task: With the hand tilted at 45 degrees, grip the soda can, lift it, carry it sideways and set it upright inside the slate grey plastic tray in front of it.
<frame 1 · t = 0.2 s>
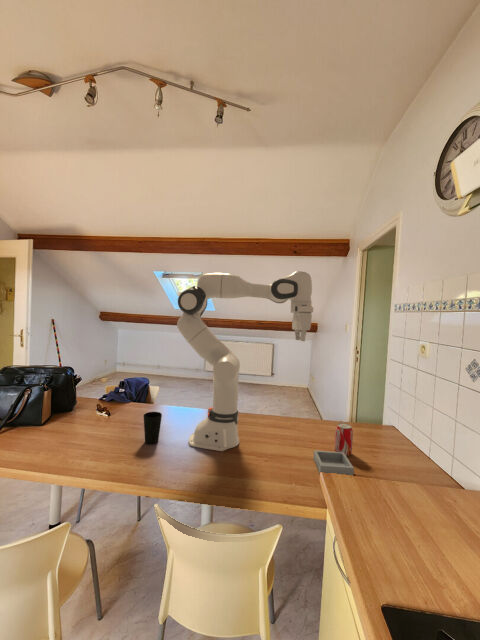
hand: (300, 340, 128), 47 cm above the table, tool pointing down, fingers open, 8 cm apart
soda can: (342, 453, 126), on the table
cup: (151, 442, 128), on the table
tray: (332, 467, 113), on the table
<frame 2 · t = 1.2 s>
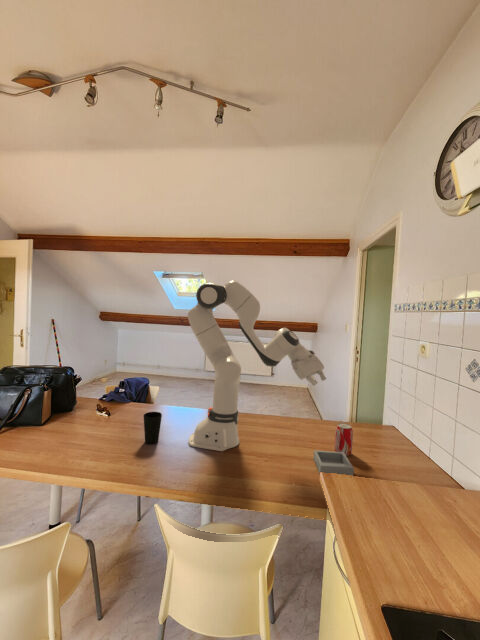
hand: (320, 382, 130), 29 cm above the table, tool tilted 45°, fingers open, 8 cm apart
nothing on the table moved.
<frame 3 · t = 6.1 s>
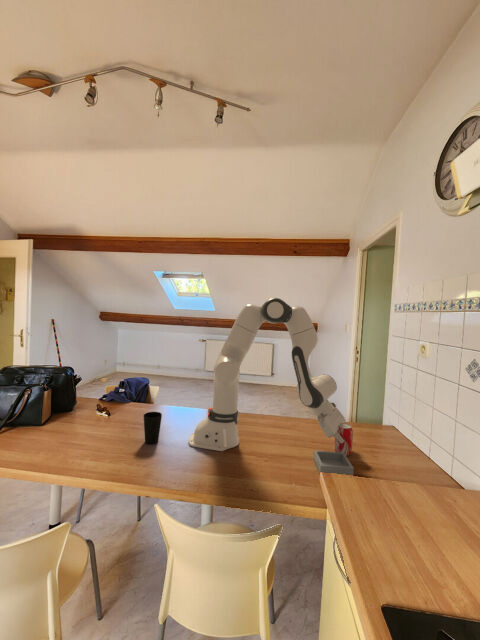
hand: (345, 438, 125), 6 cm above the table, tool tilted 45°, fingers open, 7 cm apart
soda can: (342, 453, 126), on the table, touching gripper
everything else where it was.
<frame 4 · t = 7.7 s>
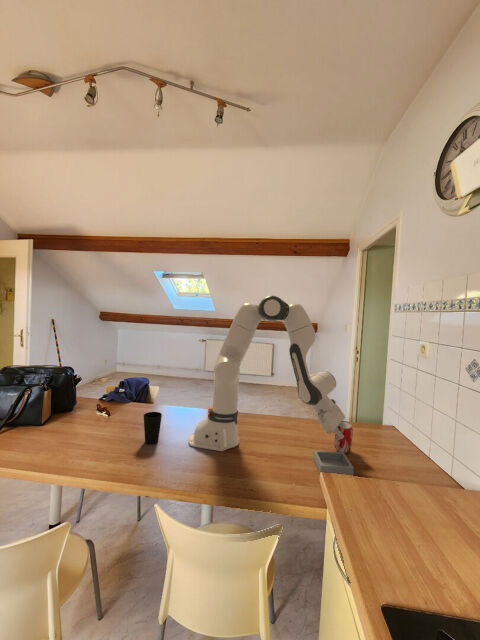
hand: (344, 435, 125), 8 cm above the table, tool tilted 45°, fingers closed on soda can, 5 cm apart
soda can: (342, 449, 128), point 1 cm above the table, touching gripper
everything else where it was.
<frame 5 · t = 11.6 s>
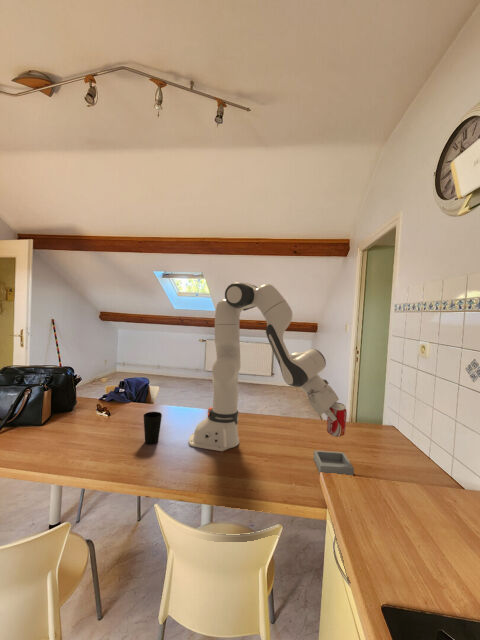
hand: (337, 417, 114), 19 cm above the table, tool tilted 45°, fingers closed on soda can, 5 cm apart
soda can: (335, 433, 117), point 12 cm above the table, touching gripper
everything else where it was.
when the fingers open (9 cm above the table, at t = 15.9 s): soda can stays where it is, resting on tray.
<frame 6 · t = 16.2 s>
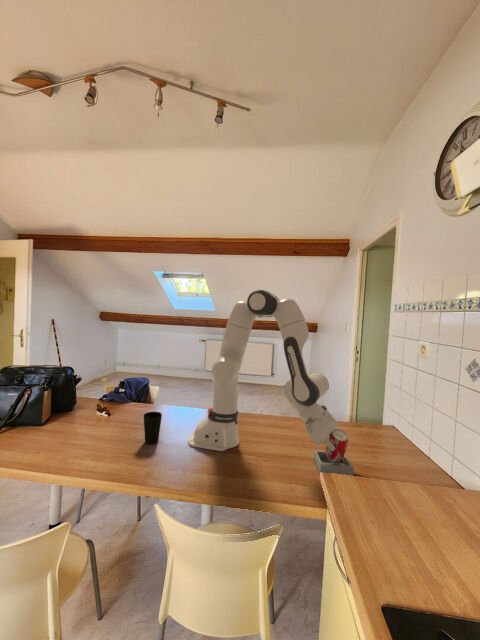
hand: (337, 446, 112), 9 cm above the table, tool tilted 45°, fingers open, 6 cm apart
soda can: (333, 458, 116), point 2 cm above the table, touching gripper, tray
everything else where it was.
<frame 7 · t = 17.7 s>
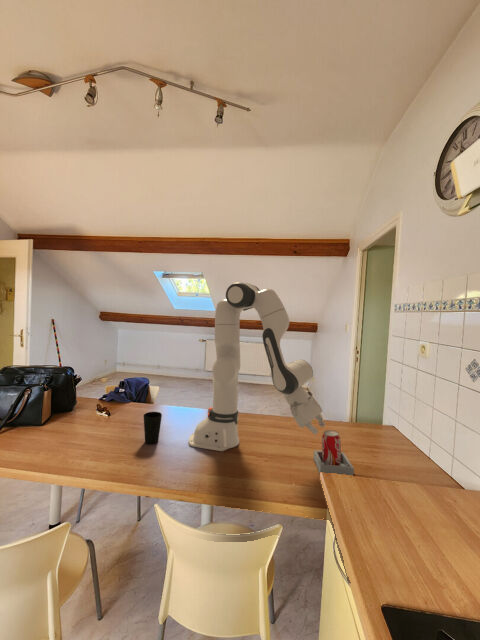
hand: (320, 429, 116), 13 cm above the table, tool tilted 45°, fingers open, 8 cm apart
soda can: (331, 464, 114), point 1 cm above the table, touching tray
everything else where it was.
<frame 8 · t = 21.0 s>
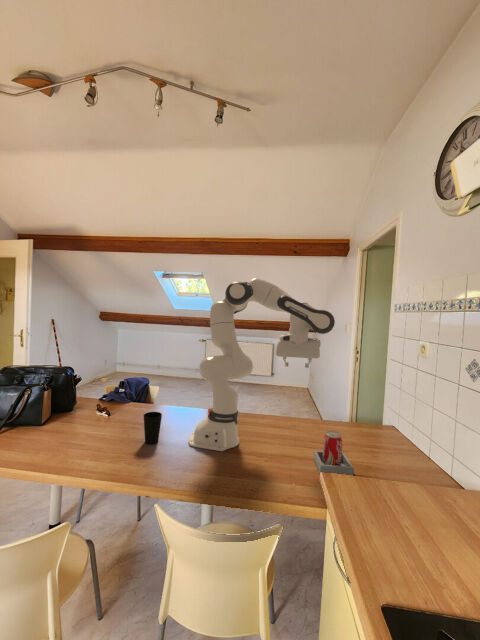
hand: (296, 366, 137), 34 cm above the table, tool pointing down, fingers open, 8 cm apart
at the end: soda can 1.2 cm off-centre on the tray, point 0.4 cm above the tray's base; soda can tilted 1°; the gripper is holding nothing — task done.
